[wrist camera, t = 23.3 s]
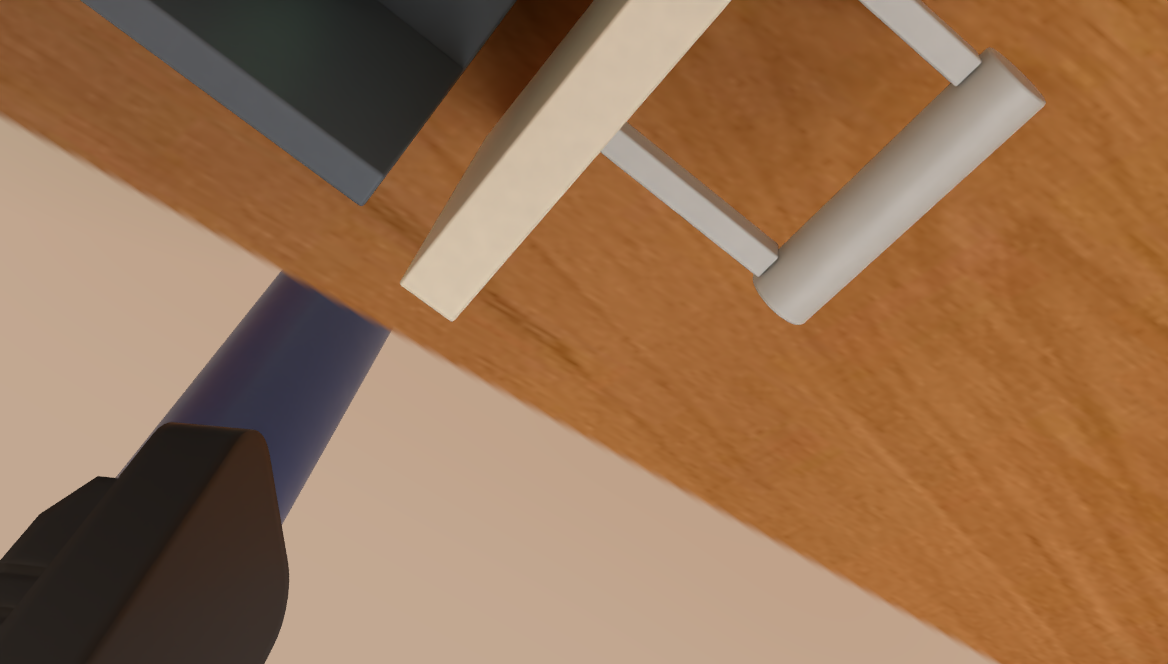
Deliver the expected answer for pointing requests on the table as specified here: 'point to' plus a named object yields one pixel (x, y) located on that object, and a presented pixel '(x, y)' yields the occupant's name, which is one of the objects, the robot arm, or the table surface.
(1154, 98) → the table surface
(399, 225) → the table surface
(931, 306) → the table surface
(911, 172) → the drawer
